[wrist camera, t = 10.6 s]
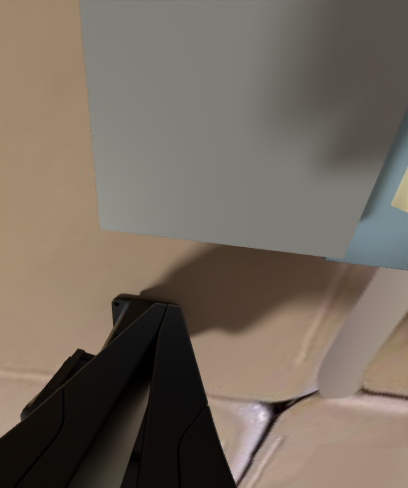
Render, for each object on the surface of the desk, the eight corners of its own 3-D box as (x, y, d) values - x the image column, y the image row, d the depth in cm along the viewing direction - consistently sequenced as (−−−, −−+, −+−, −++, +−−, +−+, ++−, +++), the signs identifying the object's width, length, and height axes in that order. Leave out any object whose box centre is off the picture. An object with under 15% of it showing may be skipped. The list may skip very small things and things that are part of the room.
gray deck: (319, 234, 19) (342, 259, 15) (122, 210, 19) (99, 229, 15) (401, 1, 13) (473, -51, 9) (111, -34, 13) (69, -98, 9)
